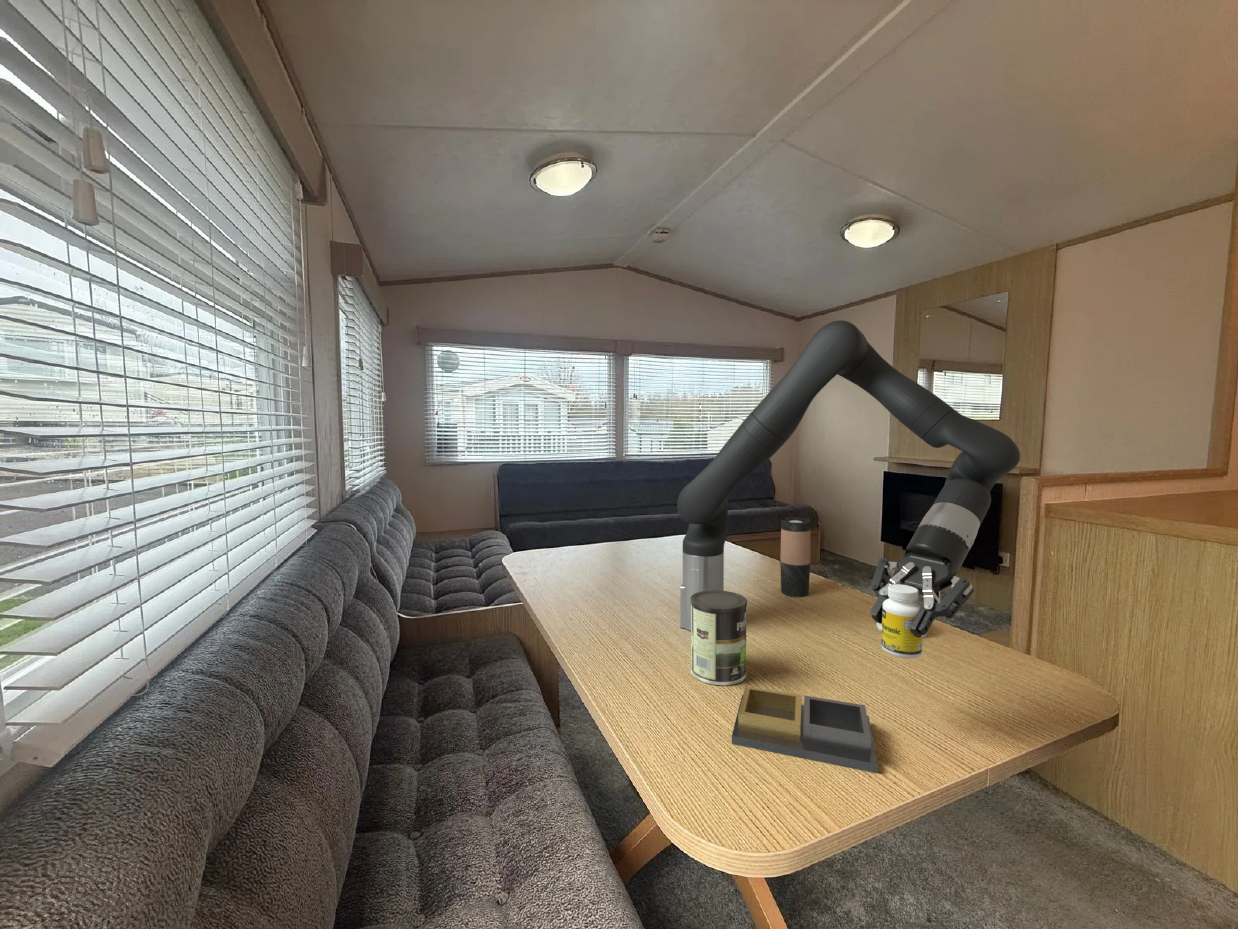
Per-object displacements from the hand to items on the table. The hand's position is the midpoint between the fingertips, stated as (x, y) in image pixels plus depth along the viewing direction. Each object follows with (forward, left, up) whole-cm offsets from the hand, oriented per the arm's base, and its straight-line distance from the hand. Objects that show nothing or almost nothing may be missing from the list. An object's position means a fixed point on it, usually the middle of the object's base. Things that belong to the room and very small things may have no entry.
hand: (895, 626), depth 77 cm
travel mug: (-16, +61, -16) cm, 65 cm away
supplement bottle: (+1, +1, -4) cm, 5 cm away
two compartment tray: (-13, -6, -16) cm, 21 cm away
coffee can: (-28, +9, -16) cm, 33 cm away
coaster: (+7, +42, -16) cm, 46 cm away
